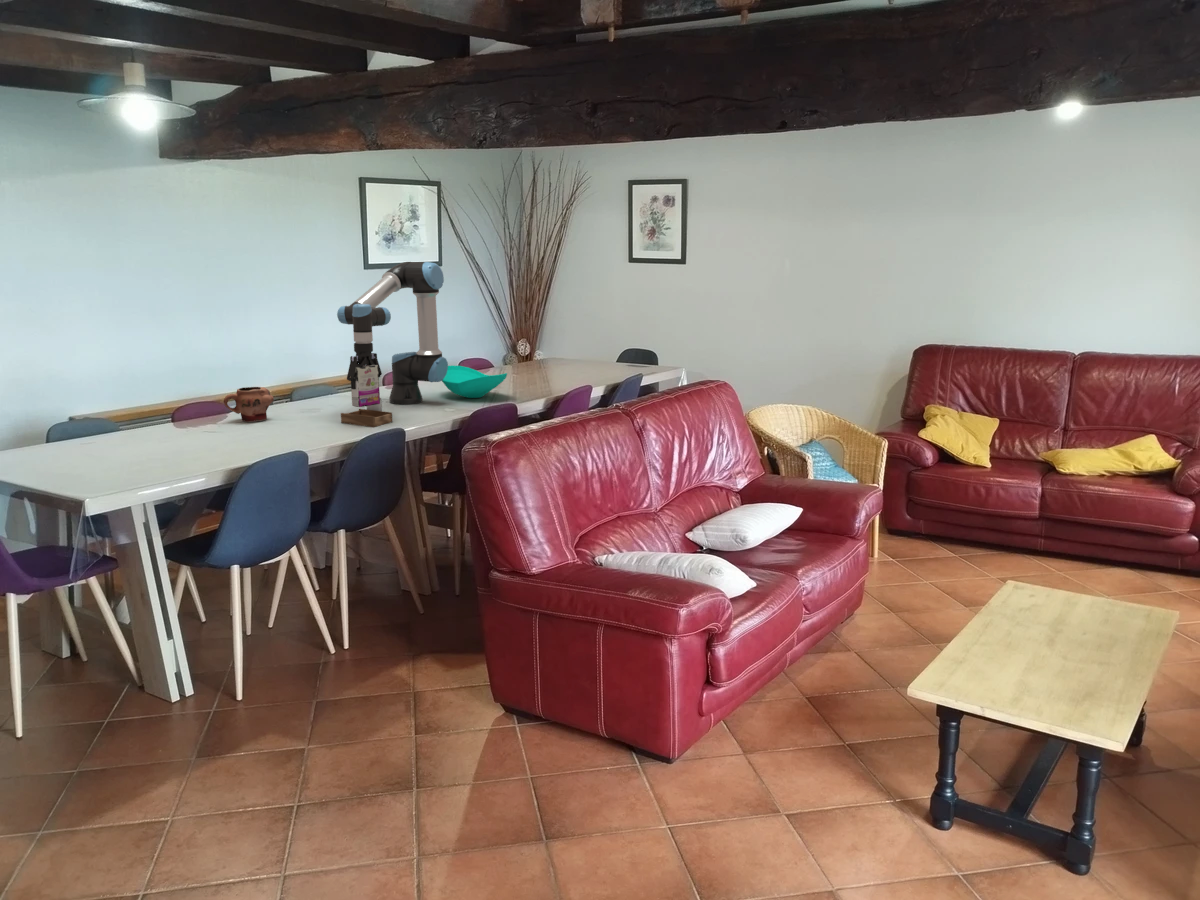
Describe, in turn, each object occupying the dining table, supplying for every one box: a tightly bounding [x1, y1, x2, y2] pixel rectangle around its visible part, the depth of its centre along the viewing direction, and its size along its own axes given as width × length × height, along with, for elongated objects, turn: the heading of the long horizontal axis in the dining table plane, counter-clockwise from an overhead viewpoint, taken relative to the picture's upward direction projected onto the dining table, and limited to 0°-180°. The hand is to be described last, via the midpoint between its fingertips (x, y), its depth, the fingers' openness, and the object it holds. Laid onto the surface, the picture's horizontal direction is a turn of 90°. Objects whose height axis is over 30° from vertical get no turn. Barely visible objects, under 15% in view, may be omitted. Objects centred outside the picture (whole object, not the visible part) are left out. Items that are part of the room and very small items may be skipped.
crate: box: [340, 408, 393, 428], centre depth 383 cm, size 12×17×4 cm
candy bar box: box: [350, 365, 381, 408], centre depth 380 cm, size 11×5×16 cm, turn 143°
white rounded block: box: [365, 397, 383, 411], centre depth 395 cm, size 6×6×8 cm
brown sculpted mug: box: [223, 386, 275, 423], centre depth 382 cm, size 20×12×14 cm, turn 132°
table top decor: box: [441, 365, 508, 399], centre depth 444 cm, size 40×28×13 cm
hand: (365, 394), depth 381 cm, fingers closed on candy bar box, 12 cm apart
